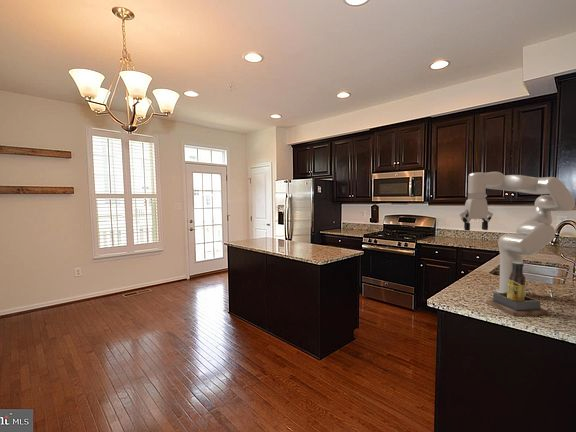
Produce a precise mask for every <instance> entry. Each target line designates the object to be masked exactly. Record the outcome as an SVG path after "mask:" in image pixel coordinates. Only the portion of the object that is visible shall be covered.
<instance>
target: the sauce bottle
mask: <svg viewBox="0 0 576 432" xmlns="http://www.w3.org/2000/svg"><path fill="white" fill-rule="evenodd" d="M524 264H525V263H524V262H523V263H521V262H512V272H511V274H510V276H509V278H508V288H507V298H510V299H512V300H515V301H524V298H525V293H526V290H525V286H526V276H525V275H524V273H523V272H524V271H523V269H524Z"/></svg>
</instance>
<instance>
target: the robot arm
mask: <svg viewBox="0 0 576 432" xmlns="http://www.w3.org/2000/svg"><path fill="white" fill-rule="evenodd" d="M467 181H468V183H467V199H466V201H465V203H464V210H463V212H461V213H460V214H459V217H460V219H461V220H462V222H463V225H464V226H463V227H464V228H463V229H464V231H470V230H471V223H470V222H471V221H472V220H481V221H482V223H481V230H483V231H488V230H489V222H490V221H491V219H492V217H493V215H494V214H493V213H492V212H491V211H489V207H488V206H489V205H488V200H487V199H486V197H487V198H488V194H487V193H486V189H489V190H500V191H508V192H517V193H523V194H531V195H539V196H538V197H537V198H536V199H535V201H534V214H533V215H531V216H530V217H529V218H528V219H527V220H525V221H524V222H522V223H521V224H520V225H519V226H517V228H516V231H515V233H505V234H502V235H501V236H500V237H499V238H498V242H497V245H498V250H499V285H498V286H499V287H497V288H496V289H495V293H503V292H507V288H508V278H509V276H510V274H511V272H512V262H521V263H523V264H524V259H523V257H522V256H532V255H535V254H536V253H538V252H539V251H540V250H542V249H543V248H544V247H546V246H547V245H549V244H550V243H551V242H552V241H553V240H554V238H555V236H556V229H555V228H554V226H553V225H552V224H553V217H552V212H569V211H571V210H572V209H574V207H575V205H576V201H575V198H574V196H573V194H572V193H571V192H570V190H569V189H568V188H567V187H566V185H565V184H564V183H563V182H562V181H561V180H560V179H558V178H557V177H555V176H545V177H534V176H528V175H522V174H507V175H505V174H504V173H502V172H500V171H489V172H481V171H480V172H470V173H469V174H468V179H467ZM531 289H532V288H531V286H527V285H525V291H530V290H531ZM525 296H527V293H526V292H525Z"/></svg>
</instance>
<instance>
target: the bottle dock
mask: <svg viewBox="0 0 576 432" xmlns="http://www.w3.org/2000/svg"><path fill="white" fill-rule="evenodd" d="M492 296H493V298H492V300H491V299H490V300H488V299H487V300H486V305H489V306H491V307H493V308H495V309H498V310H500V311H502V312H504V313H506V314H508V315H510V316H512V317H520V316H521V317H522V316H523V317H524V316H538V315H539V316H540V315H548V314H549V310H547V309H544V308H543V307H542V308H541V300H539V299H536V298H534V297H530V296H528V295H526V296H525V298H524V301H515V300H512V299H510V298H507V292H503V293H497V292H493V293H492Z"/></svg>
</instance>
